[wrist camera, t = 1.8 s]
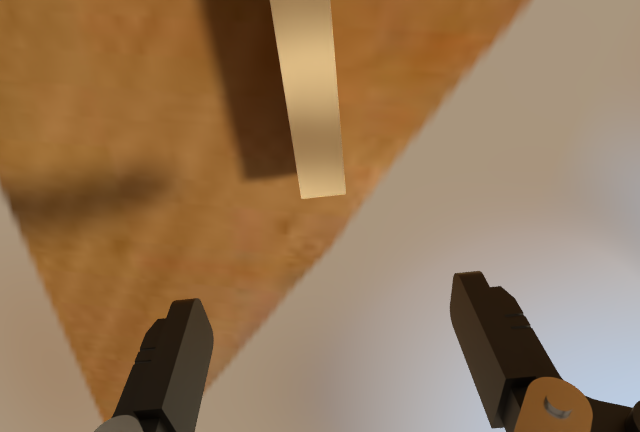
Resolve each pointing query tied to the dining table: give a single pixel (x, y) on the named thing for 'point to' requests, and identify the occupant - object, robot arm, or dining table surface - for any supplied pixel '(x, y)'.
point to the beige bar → (311, 93)
